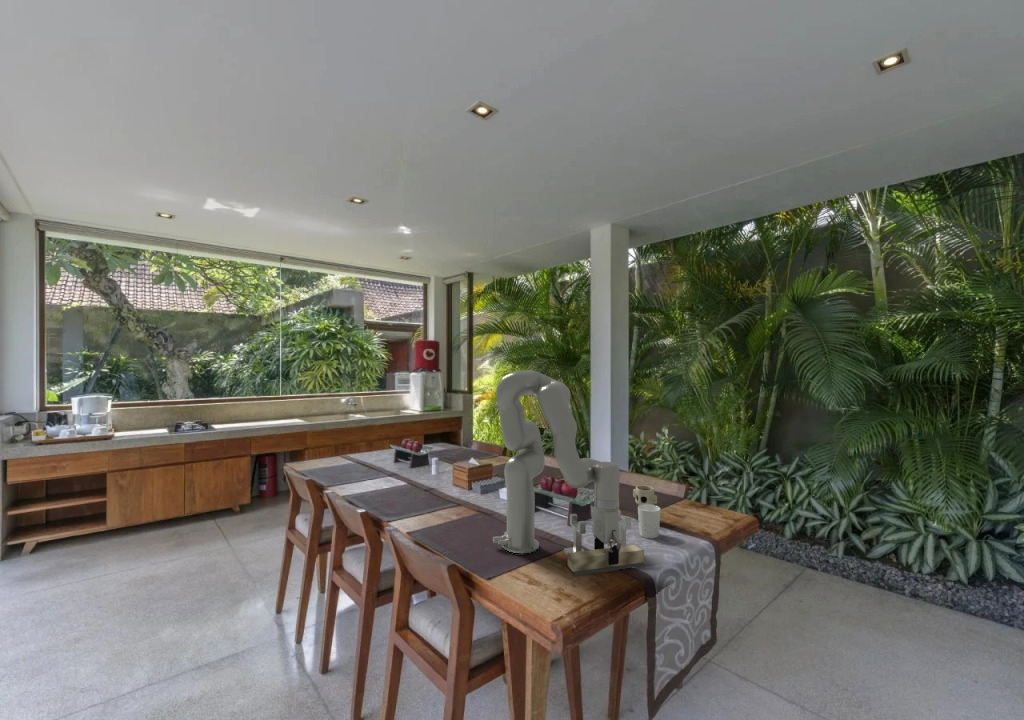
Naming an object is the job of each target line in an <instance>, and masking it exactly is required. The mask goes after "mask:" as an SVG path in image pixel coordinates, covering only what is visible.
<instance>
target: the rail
mask: <svg viewBox="0 0 1024 720" xmlns="http://www.w3.org/2000/svg"><path fill="white" fill-rule="evenodd" d="M608 551H610V550H609V547H607V548H605V547H604V549H597V550H594V549H590V550H584V551H580V552H572V553H568V556H567V563H568V565H567V567H568V568H569V569H570V570H571V571H572V572H575V571H582V570H590V569H597V568H605V567H613V566H620V565H628V564H635V563H643V564H644V561H645V550H644V548H642V547H641V546H640V545H639V544H632V545H628V546H622V547H621V548H620V551H619V563H618V564H614V565H609V564H608Z"/></svg>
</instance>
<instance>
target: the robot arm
mask: <svg viewBox="0 0 1024 720" xmlns="http://www.w3.org/2000/svg"><path fill="white" fill-rule="evenodd" d="M495 389H496V391H495V399H496V403H497V408H498V412H499V421H500V428H501V434H502V441H503V444H504V446H505V448H507V449H508V450H509V451H511V452H518V454H516V455H513V456H512V457H510V458H509V460H507V461H506V463H505V465H504V474H503V475H504V480H505V486H506V488H505V489H506V531H504V533H503V534H502V535H500V536H498V535H497V536H492V542H493V544H494V543H495V544H496V543H497V545H501V546H502V547H503V548H504V549H505V550H507V551H509V552H513V553H522V554H521V555H524V554H523V553H529V554H532V553H531V552H533V553H535V552H537V551H538V550H539V547H540V542H539V541H538V540H537V539H535V534H536V533H535V530H536V529H535V528H536V527H535V521H536V520H535V519H536V517H535V516H536V515H535V514H536V513H535V509H536V506H535V503H536V501H535V500H536V497H535V489H534V483H533V479H534V478H535V477H537V476H539V475H540V474H541V473H542V472H543V470H544V468H545V464H546V461H545V460H546V459H545V455H544V447H543V442H542V436H541V432H540V429H539V427H538V425H537V424H536V423H535V422H534V421H532V420H530V419H526V417H525V410H524V406H523V404H522V402H521V399H520V398H521V397H523V396H529V395H532V396H534V397H536V398H537V402H538V405H539V407H540V410H541V412H542V413H543V416H544V419H545V421H546V422H547V425H548V427H549V430H550V432H551V434H552V442H553V449H554V455H555V460H556V463H557V466H558V467H559V470H560V472H561V475H562V477H563V479H564V480H565V482H566V483H567V484H568V485H569V486H570V487H572V488H574V489H582V488H584V487H586V486H587V485H588V484H590V483H592V482H594V497H593V498H594V501H593V502H594V503H593V504H594V506H593V510H592V511H593V513H592V522H591V523H592V525H591V526H592V527H591V528H592V530H591V531H592V534H593V537H594V541H593V542H594V545H593V546H594V547H593V548H594V549H593V550H597V549H605V545H606V544H607V545H608V546H609V547H608V546H607V547H608V548H609V550H610V551H608V564H609V565H614V564H618V563H619V551H620V548H621V543H622V542H621V540H620V538H619V515H618V510H620V467H619V465H618V464H617V463H615V462H612V461H600V460H596V459H593V458H589V457H583V458H580V456H579V452H578V449H577V446H576V437H577V433H578V424H577V422H576V420H575V418H574V416H573V413H572V411H571V409H570V407H569V405H568V403H570V400H571V391H570V388H568V386H567V385H566V384H564V383H563V382H561V381H559V380H556V379H555V378H552V377H551V376H547V375H546V374H544V373H541V372H539V371H536V370H533V369H532V370H531V369H529V370H527V369H525V370H517V371H516V370H515V371H513V372H512V371H511V372H510V373H508V374H506V375H504V376H503V377H502V379H500V380H499V382H498V383H497V387H496V388H495ZM611 544H615V545H614V546H613V547H612V545H611ZM503 548H502V549H503ZM504 549H503V550H504ZM537 549H538V550H537ZM505 550H504V551H505ZM536 550H537V551H536ZM507 551H506V552H507ZM534 551H535V552H534ZM509 552H508V553H509ZM513 553H512V554H513Z"/></svg>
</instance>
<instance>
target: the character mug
mask: <svg viewBox="0 0 1024 720" xmlns="http://www.w3.org/2000/svg"><path fill="white" fill-rule="evenodd" d="M632 497H633V498H635V499H634V500H635V503H636V504H637V505H638V506H639V505H642V504H651V505H655V504H657V503H658V496H657V494H655V488H654V487H653V486H649V485H643V484H642V485H640V484H639V485H636V486H635V488H634V489H633V490H632ZM638 506H637V507H638ZM636 511H637V512H636V517H635V518H636V521H638V508H637V509H636Z"/></svg>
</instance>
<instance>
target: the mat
mask: <svg viewBox="0 0 1024 720" xmlns="http://www.w3.org/2000/svg"><path fill="white" fill-rule="evenodd" d="M567 566H568V562H567ZM642 566H645V567H646V565H645V563H644V562H643V563H635V564H628V565H620V566H613V567H605V568H597V569H590V570H582V571H575V572H573V571H572V572H573V574H574V575H575V576H584V575H591V574H593V575H595V574H600V573H607V572H615V571H620V570H619V569H623V570H626V569H625V568H631V569H633V568H632V567H638V568H643V567H642Z"/></svg>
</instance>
